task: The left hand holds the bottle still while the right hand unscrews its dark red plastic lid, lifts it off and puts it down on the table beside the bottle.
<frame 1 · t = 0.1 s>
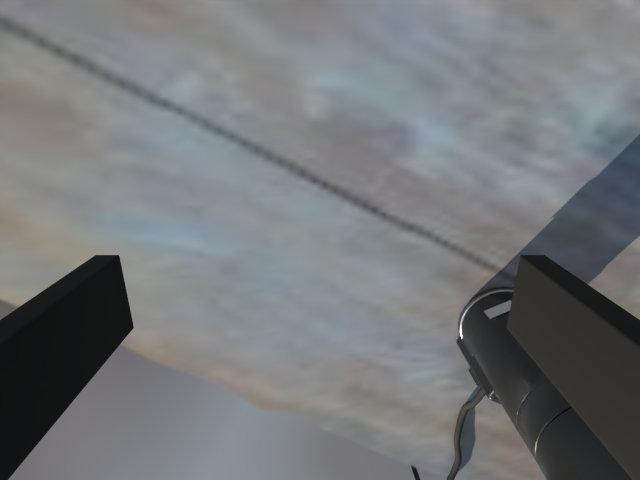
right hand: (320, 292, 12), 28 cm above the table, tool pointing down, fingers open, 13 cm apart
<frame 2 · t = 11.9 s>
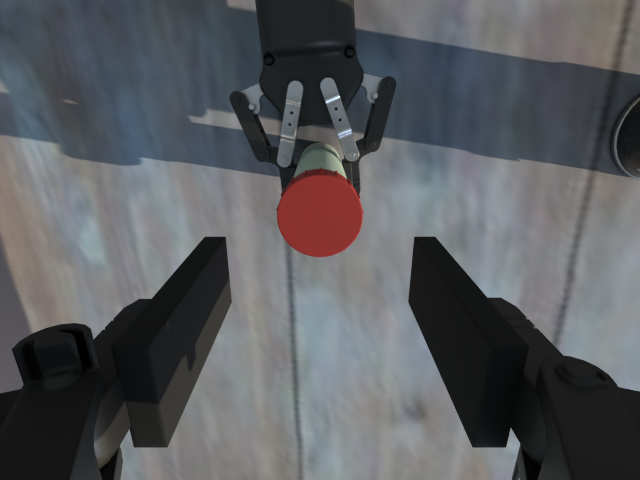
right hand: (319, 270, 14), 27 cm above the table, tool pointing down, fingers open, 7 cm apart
left hand: (322, 202, 34), fingers closed on bottle, 4 cm apart
bottle: (319, 163, 39), on the table, touching left hand
lid: (319, 215, 21), point 19 cm above the table, screwed on, not yet turned
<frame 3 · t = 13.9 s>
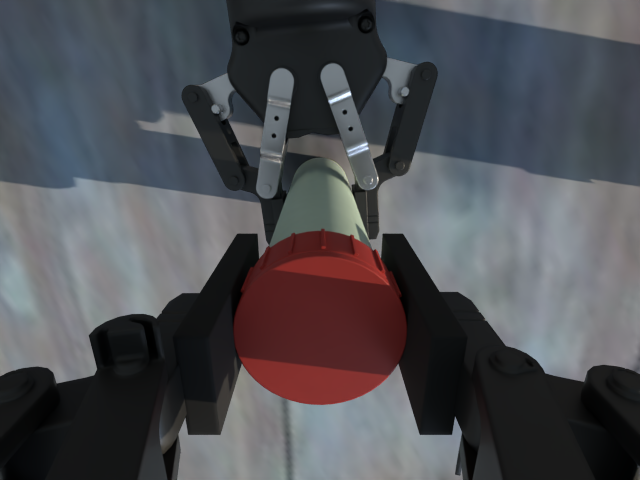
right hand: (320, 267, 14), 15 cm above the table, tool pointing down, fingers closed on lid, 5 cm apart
left hand: (323, 246, 24), fingers closed on bottle, 4 cm apart
bottle: (320, 185, 28), on the table, touching left hand
lid: (320, 329, 10), point 19 cm above the table, screwed on, not yet turned, touching right hand
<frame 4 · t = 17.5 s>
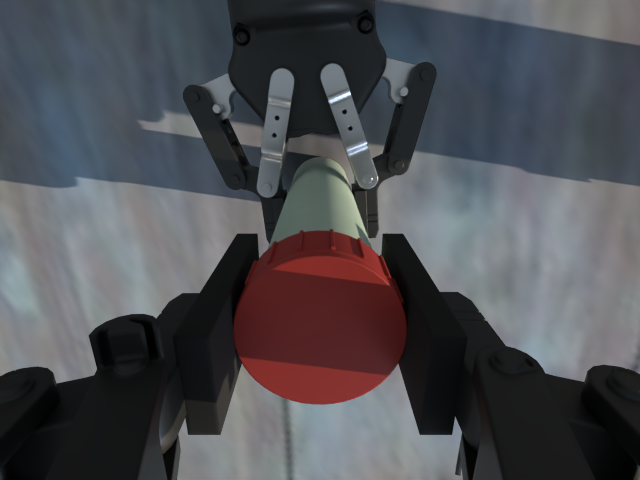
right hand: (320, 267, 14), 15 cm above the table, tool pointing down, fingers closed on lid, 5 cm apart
left hand: (323, 245, 24), fingers closed on bottle, 4 cm apart
bottle: (320, 184, 29), on the table, touching left hand
lid: (320, 329, 10), point 20 cm above the table, turned 121° so far, risen 0.2 cm, still on its thread, touching right hand
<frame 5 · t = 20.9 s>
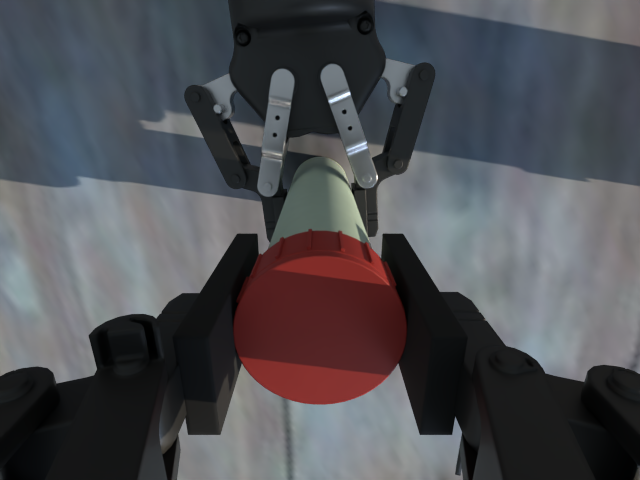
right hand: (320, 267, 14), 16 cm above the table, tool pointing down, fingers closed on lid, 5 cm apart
left hand: (323, 244, 24), fingers closed on bottle, 4 cm apart
bottle: (320, 184, 29), on the table, touching left hand
lid: (320, 329, 10), point 20 cm above the table, turned 242° so far, risen 0.4 cm, still on its thread, touching right hand
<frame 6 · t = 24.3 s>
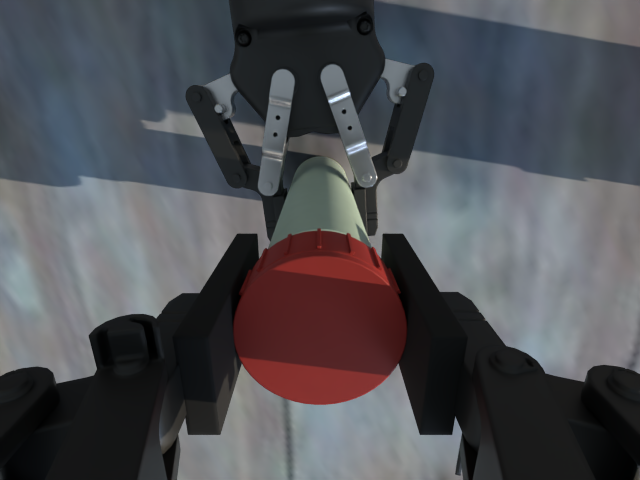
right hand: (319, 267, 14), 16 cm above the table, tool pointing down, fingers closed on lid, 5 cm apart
left hand: (323, 243, 24), fingers closed on bottle, 4 cm apart
bottle: (320, 183, 29), on the table, touching left hand
lid: (320, 329, 10), point 20 cm above the table, turned 363° so far, risen 0.6 cm, still on its thread, touching right hand
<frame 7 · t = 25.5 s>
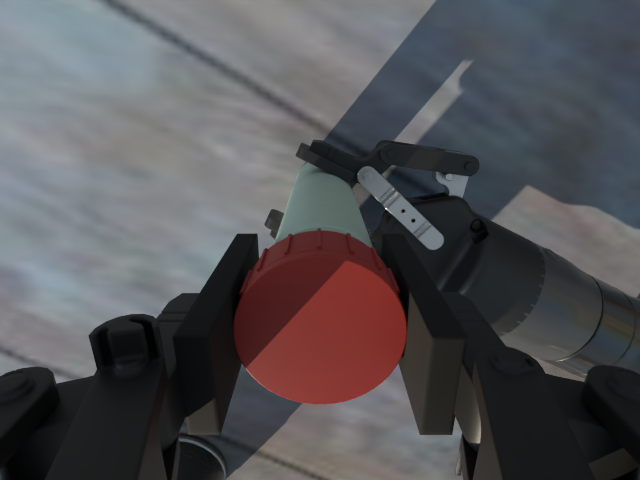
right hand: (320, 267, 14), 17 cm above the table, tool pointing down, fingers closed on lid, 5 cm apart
bottle: (322, 184, 30), on the table, touching left hand
lid: (320, 329, 10), point 21 cm above the table, off its thread, touching right hand
when the right hand's fingers open (0 cm above the table, at t = 32.9 s): lid drops 3 cm, point 2 cm above the table.
when the left hand's fingers open (6 cm above the table, at t = 33.5 s): bottle stays where it is, on the table.
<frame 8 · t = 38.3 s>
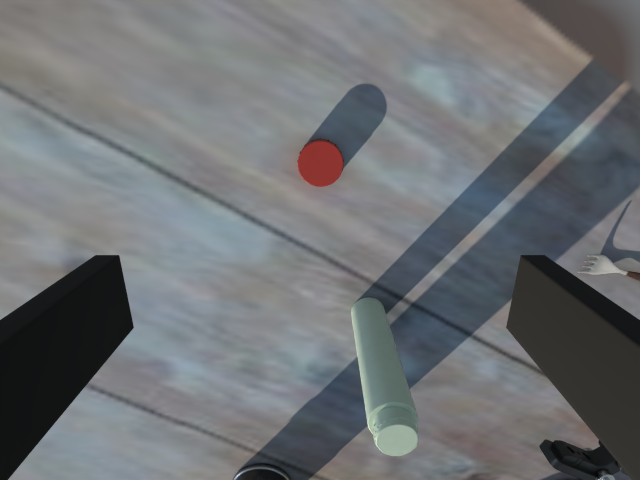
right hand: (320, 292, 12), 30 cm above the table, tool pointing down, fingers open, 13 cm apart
fork: (630, 272, 45), on the table
bottle: (367, 311, 47), on the table
lid: (320, 163, 39), point 2 cm above the table, off its thread
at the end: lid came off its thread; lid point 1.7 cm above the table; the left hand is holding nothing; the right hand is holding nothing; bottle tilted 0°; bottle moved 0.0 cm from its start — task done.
